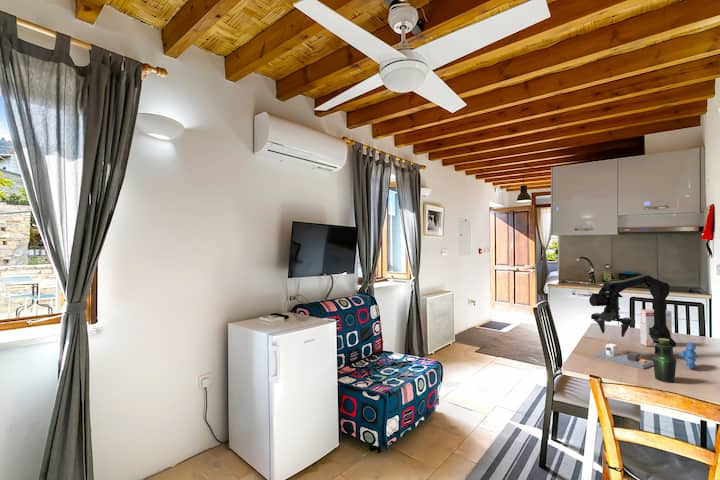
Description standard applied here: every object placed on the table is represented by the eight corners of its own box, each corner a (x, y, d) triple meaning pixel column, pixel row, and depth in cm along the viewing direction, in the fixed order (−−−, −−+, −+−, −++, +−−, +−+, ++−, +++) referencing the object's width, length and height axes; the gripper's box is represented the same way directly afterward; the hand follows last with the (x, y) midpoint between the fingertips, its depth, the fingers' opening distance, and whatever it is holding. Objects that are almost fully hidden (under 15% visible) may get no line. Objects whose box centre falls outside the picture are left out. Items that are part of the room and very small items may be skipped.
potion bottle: (665, 376, 163) (664, 336, 163) (682, 383, 155) (681, 341, 155) (648, 376, 163) (647, 337, 163) (663, 383, 155) (663, 342, 155)
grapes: (680, 362, 180) (679, 338, 180) (698, 365, 175) (698, 341, 175) (678, 368, 172) (677, 343, 172) (697, 372, 167) (697, 346, 167)
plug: (617, 358, 188) (617, 345, 188) (611, 360, 185) (611, 347, 185) (610, 356, 191) (610, 343, 191) (603, 358, 188) (603, 345, 188)
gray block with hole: (652, 365, 177) (652, 355, 177) (643, 369, 172) (642, 358, 172) (604, 353, 196) (604, 344, 196) (594, 356, 191) (594, 347, 191)
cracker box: (665, 344, 211) (664, 308, 211) (672, 347, 205) (672, 310, 205) (639, 344, 212) (639, 308, 212) (646, 347, 206) (646, 310, 206)
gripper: (585, 304, 194) (586, 333, 194) (624, 310, 178) (625, 341, 178) (596, 302, 200) (597, 330, 200) (635, 307, 183) (636, 338, 183)
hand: (612, 335), depth 190 cm, fingers open, 9 cm apart
